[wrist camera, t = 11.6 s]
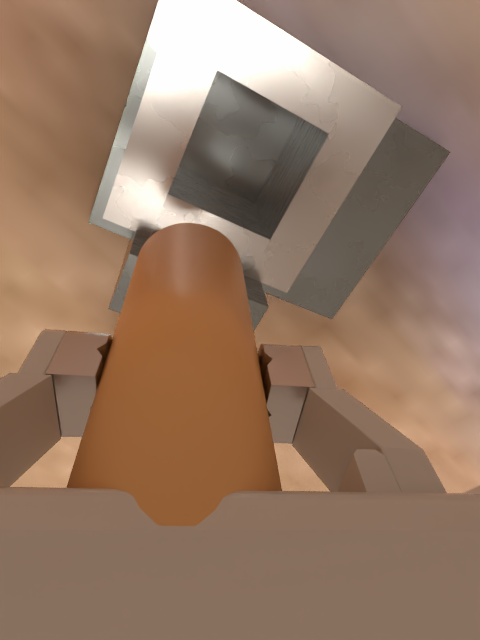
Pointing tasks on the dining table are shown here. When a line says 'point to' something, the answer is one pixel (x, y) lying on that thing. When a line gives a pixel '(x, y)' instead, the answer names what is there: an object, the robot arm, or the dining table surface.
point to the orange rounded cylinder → (181, 385)
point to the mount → (259, 155)
